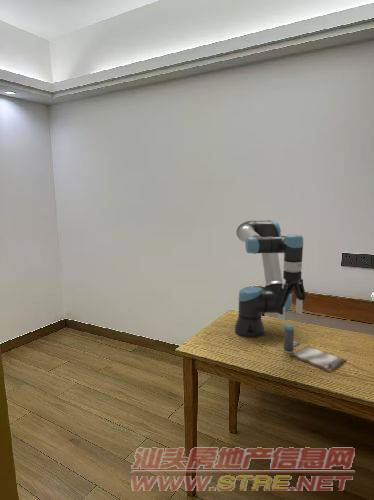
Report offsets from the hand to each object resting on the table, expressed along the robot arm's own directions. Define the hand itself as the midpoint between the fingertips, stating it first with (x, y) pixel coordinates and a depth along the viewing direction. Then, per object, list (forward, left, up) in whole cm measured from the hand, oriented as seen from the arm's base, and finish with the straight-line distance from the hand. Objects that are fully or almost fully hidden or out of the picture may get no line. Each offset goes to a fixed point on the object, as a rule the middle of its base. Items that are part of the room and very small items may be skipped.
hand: (290, 316), depth 148 cm
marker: (0, 0, -16) cm, 17 cm away
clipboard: (+12, +4, -16) cm, 21 cm away
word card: (-3, +8, -16) cm, 19 cm away
